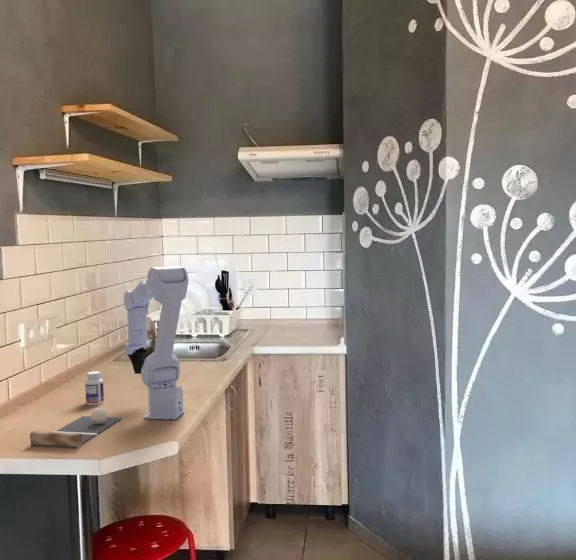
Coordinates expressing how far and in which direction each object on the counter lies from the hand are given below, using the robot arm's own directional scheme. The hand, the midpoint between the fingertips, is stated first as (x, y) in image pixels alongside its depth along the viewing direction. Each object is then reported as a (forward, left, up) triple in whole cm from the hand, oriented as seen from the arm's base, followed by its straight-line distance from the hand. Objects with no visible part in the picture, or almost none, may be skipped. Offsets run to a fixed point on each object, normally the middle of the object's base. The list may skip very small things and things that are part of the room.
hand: (138, 373), depth 199 cm
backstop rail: (+4, +41, -9) cm, 42 cm away
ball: (+3, +24, -8) cm, 25 cm away
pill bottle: (+14, +2, -10) cm, 17 cm away
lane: (+4, +29, -9) cm, 31 cm away
